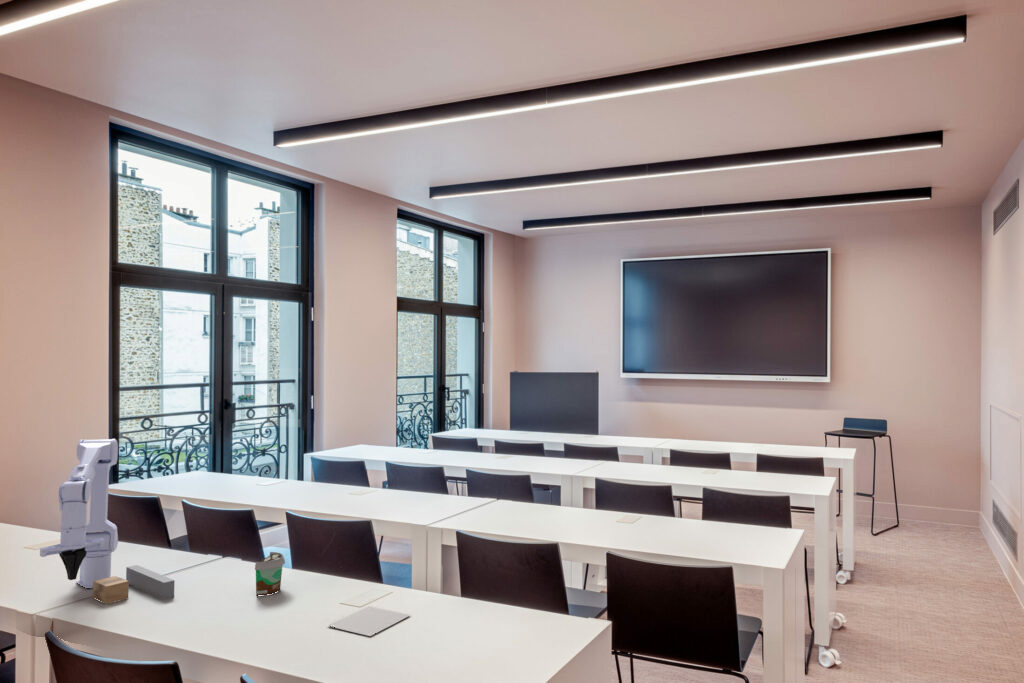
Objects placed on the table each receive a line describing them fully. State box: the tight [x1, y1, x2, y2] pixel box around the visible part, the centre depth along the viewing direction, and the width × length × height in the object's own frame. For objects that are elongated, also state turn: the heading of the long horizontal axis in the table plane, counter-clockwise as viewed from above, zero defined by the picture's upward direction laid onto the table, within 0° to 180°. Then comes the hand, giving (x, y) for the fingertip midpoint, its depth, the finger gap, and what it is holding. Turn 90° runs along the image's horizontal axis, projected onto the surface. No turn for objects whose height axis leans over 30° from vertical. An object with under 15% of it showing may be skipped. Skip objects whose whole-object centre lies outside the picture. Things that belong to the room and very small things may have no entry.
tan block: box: [92, 575, 130, 604], centre depth 197 cm, size 8×6×5 cm
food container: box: [254, 551, 286, 596], centre depth 205 cm, size 12×6×10 cm, turn 179°
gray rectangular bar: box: [125, 564, 176, 601], centre depth 205 cm, size 24×3×5 cm, turn 52°
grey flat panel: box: [329, 605, 411, 637], centre depth 187 cm, size 23×25×1 cm
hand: (71, 578), depth 184 cm, fingers closed
